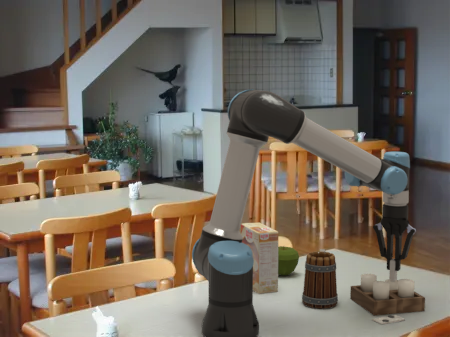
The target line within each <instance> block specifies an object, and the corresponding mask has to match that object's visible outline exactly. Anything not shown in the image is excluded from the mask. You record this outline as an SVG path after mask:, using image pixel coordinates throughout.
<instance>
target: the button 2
mask: <svg viewBox="0 0 450 337" xmlns="http://www.w3.org/2000/svg"><path fill="white" fill-rule="evenodd" d="M373 299H374V300H376V301H377V300H389V283H388V282H385V280H377V281H375V282H373Z"/></svg>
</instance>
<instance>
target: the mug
mask: <svg viewBox="0 0 450 337" xmlns="http://www.w3.org/2000/svg"><path fill="white" fill-rule="evenodd" d="M304 263H305V264H304V269H305V270H304V281H303V290H302V291H303V292H302V294H301V295H302V296H301V298H302V299H301V300H302V303H303V305H305V306H306V307H308V308H311V309H319V310H324V309H325V310H326V309H332V308H334V307H336V306H337V304H338V301H339V297H338V296H339V295H338V293H337V292H338V290H337V289H338V287H337V262H336V257H335V255H334V253H333V252H328V251H326V249H322V248H320V249H319V252H318V251H310V252H308V253H307V254H306V257H305V262H304Z"/></svg>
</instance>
